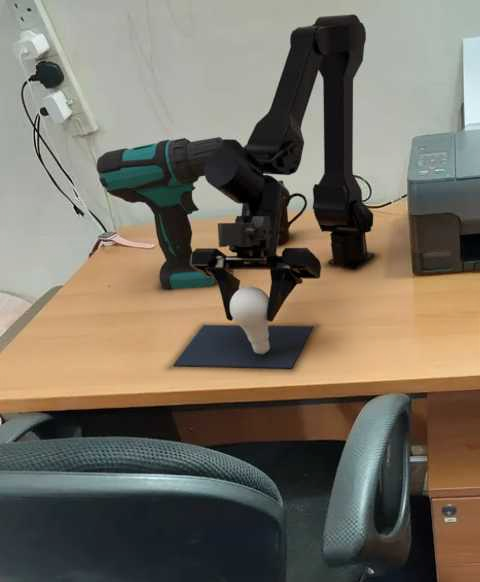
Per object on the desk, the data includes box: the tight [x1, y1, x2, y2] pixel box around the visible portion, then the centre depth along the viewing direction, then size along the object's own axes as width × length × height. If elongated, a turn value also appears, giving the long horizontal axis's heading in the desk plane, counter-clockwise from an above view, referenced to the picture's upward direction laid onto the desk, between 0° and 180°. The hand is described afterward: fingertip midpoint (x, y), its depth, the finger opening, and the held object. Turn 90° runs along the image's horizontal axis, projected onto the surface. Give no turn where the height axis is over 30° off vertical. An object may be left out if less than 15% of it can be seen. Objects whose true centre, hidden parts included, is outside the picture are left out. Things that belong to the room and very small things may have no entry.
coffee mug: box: [277, 192, 308, 247], centre depth 134 cm, size 12×9×10 cm
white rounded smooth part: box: [230, 285, 270, 354], centre depth 99 cm, size 6×6×11 cm
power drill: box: [96, 136, 224, 291], centre depth 120 cm, size 26×9×25 cm, turn 84°
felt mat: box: [173, 324, 314, 370], centre depth 105 cm, size 20×12×1 cm, turn 77°
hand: (249, 320), depth 97 cm, fingers closed on white rounded smooth part, 6 cm apart
